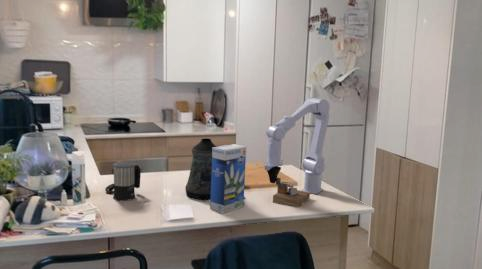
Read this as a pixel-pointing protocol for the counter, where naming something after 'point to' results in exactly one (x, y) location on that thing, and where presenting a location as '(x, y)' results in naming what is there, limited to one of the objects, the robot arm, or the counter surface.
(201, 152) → the beer stein
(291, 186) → the lock pin
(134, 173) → the milk frother
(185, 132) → the counter surface
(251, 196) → the counter surface
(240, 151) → the string lights box
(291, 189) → the shiny metal cylinder
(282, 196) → the mount
